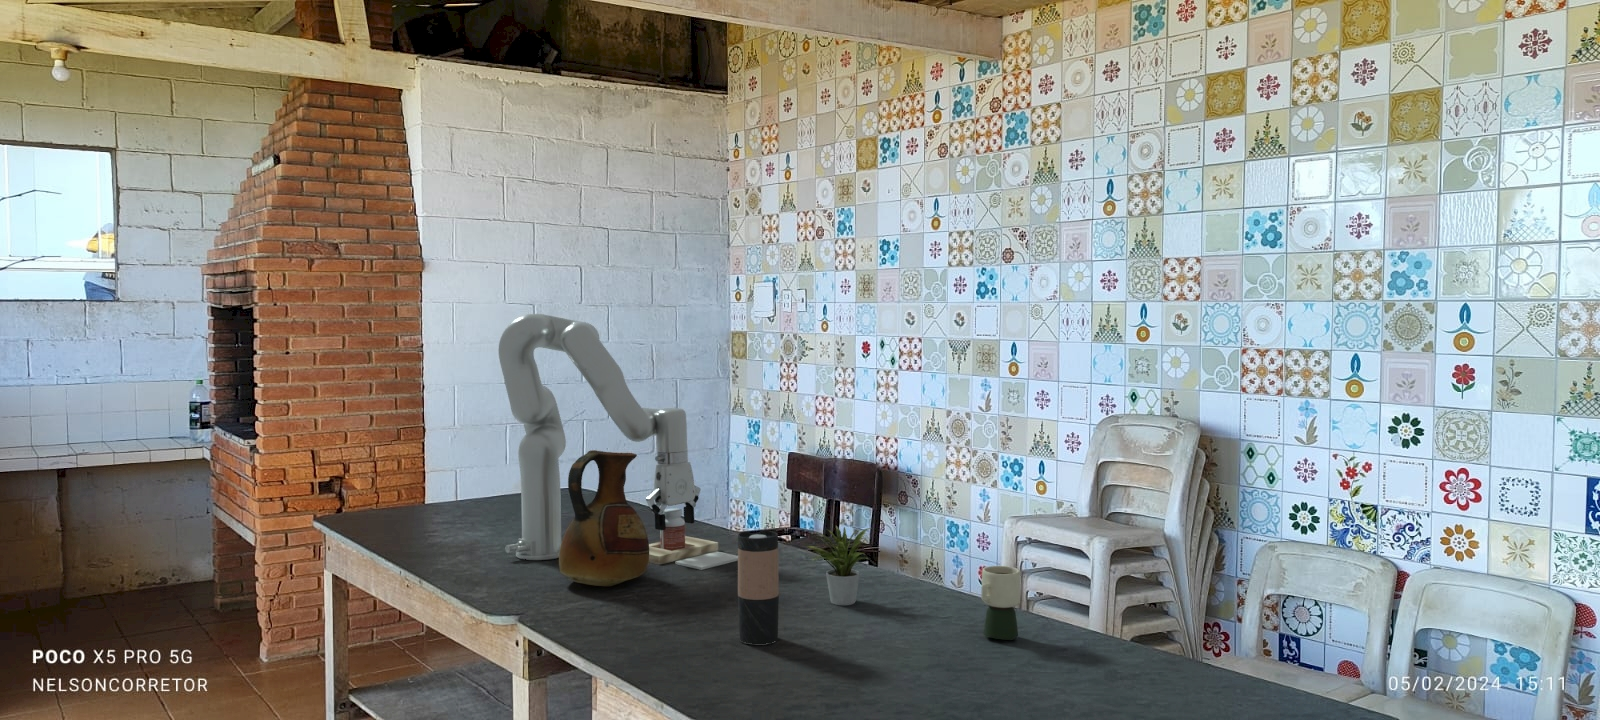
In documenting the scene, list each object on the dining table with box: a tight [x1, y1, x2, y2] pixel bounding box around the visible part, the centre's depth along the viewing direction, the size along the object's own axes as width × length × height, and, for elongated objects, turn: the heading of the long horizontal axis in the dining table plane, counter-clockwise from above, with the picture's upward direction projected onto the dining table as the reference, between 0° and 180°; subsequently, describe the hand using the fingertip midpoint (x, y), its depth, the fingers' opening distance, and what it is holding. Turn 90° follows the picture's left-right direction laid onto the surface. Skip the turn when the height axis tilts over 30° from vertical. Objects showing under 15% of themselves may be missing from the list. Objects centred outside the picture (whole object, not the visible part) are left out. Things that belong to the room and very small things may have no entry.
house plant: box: [806, 525, 872, 606], centre depth 238 cm, size 14×14×16 cm
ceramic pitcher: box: [558, 449, 650, 587], centre depth 254 cm, size 20×20×30 cm
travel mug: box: [737, 530, 780, 644], centre depth 211 cm, size 8×8×20 cm
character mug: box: [980, 565, 1022, 641], centre depth 211 cm, size 11×7×13 cm, turn 131°
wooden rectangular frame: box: [648, 535, 719, 566], centre depth 282 cm, size 20×12×2 cm, turn 139°
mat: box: [674, 551, 738, 571], centre depth 274 cm, size 14×9×1 cm, turn 139°
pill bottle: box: [659, 507, 686, 551], centre depth 282 cm, size 6×6×11 cm
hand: (675, 526), depth 282 cm, fingers open, 9 cm apart
